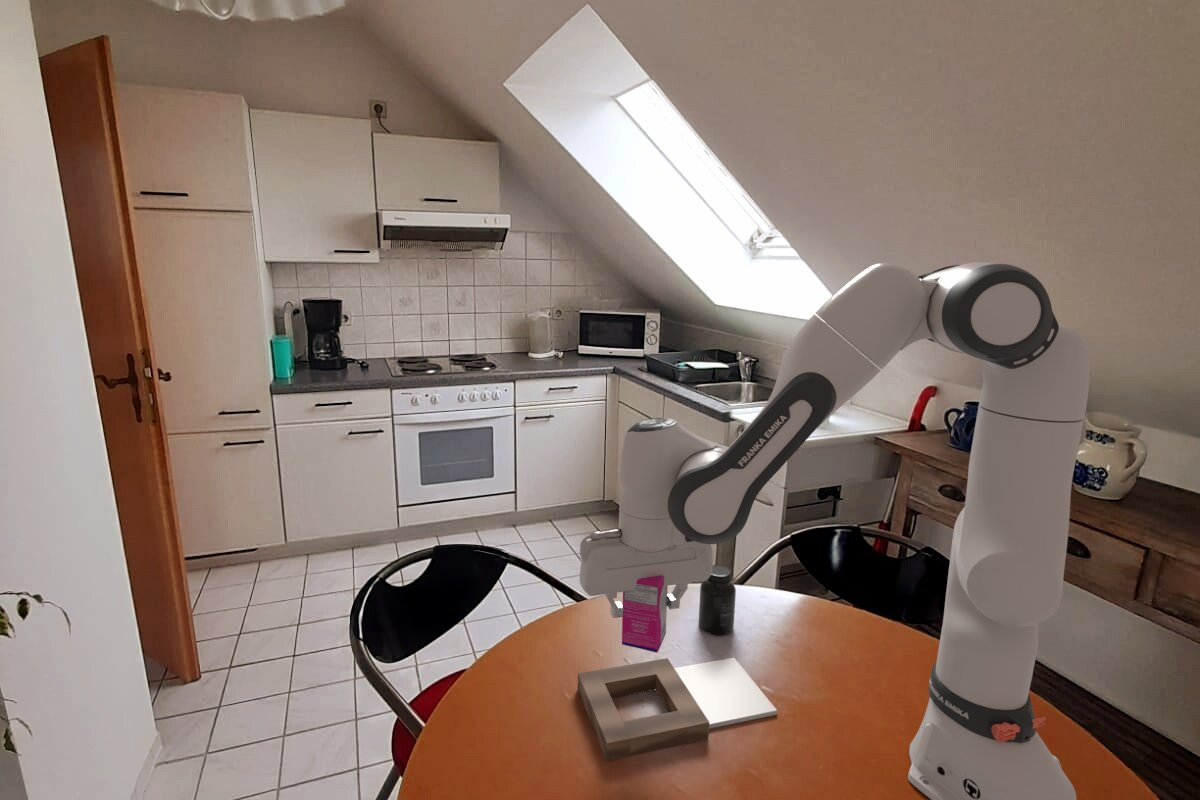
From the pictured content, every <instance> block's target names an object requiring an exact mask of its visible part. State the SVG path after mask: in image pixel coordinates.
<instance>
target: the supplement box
mask: <svg viewBox="0 0 1200 800" xmlns="http://www.w3.org/2000/svg"><path fill="white" fill-rule="evenodd" d="M667 594H668V586H664V576H663V575H661V576H654V577H647V578H641V579H638V580H637V585H636V589H635V590H632V591H625V592H622V606H623V612H622V613H623V617H621V618H622V619H621V620H622V621H621V622H622V623H621V626H622V627H621V645H622V646H625V647H626V646H627V647H632V648H636V649H640V650H644V651H647V652H648V651H649V652H652V653H656V654H658V652H659V651H660V648H661V646H662V643H663V641H664V638H665V636H666V633H667V609H668V606H667Z"/></svg>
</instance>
